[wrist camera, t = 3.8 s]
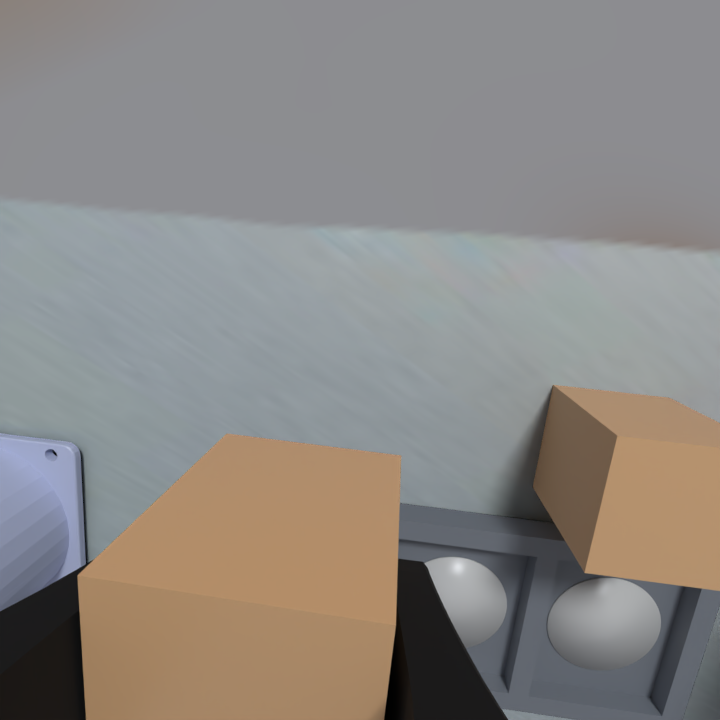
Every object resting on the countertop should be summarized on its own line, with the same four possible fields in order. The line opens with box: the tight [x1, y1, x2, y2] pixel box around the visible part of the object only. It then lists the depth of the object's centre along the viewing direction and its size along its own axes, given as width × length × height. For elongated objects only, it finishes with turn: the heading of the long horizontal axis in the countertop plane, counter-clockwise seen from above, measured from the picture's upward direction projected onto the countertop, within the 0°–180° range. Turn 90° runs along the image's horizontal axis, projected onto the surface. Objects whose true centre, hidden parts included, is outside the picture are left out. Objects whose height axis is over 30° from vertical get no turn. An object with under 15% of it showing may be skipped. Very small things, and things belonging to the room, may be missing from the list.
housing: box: [398, 503, 720, 720], centre depth 18 cm, size 13×8×1 cm, turn 85°
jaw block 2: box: [533, 385, 720, 591], centre depth 15 cm, size 4×4×5 cm
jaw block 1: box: [77, 434, 401, 720], centre depth 9 cm, size 4×4×5 cm
